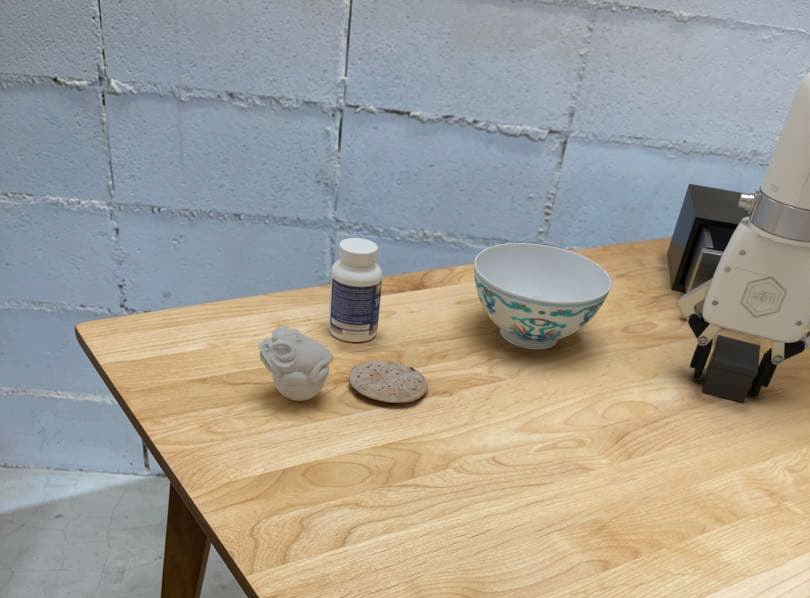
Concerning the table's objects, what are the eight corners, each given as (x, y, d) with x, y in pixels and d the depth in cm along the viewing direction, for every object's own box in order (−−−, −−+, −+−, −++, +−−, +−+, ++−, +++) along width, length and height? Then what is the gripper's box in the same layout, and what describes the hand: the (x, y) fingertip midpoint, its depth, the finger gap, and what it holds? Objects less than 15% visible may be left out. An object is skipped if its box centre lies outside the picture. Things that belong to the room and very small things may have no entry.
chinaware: (610, 330, 99) (628, 267, 94) (568, 383, 89) (586, 316, 83) (494, 293, 103) (505, 231, 98) (442, 340, 93) (451, 273, 88)
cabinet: (760, 306, 109) (790, 233, 103) (671, 289, 110) (695, 216, 104) (748, 267, 119) (775, 198, 113) (667, 252, 120) (689, 183, 113)
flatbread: (438, 381, 86) (439, 372, 85) (408, 415, 80) (409, 406, 80) (367, 358, 88) (368, 349, 87) (333, 390, 82) (334, 381, 82)
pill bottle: (382, 343, 91) (390, 256, 85) (333, 344, 90) (338, 256, 83) (371, 319, 95) (378, 234, 88) (324, 320, 93) (328, 234, 87)
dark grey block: (705, 366, 95) (718, 334, 92) (746, 377, 94) (760, 345, 91) (700, 392, 90) (713, 359, 87) (744, 404, 89) (758, 371, 87)
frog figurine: (256, 381, 83) (255, 315, 78) (327, 379, 84) (330, 315, 79) (261, 415, 78) (260, 348, 74) (336, 413, 80) (339, 347, 75)
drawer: (772, 347, 98) (800, 284, 93) (683, 331, 99) (706, 267, 94) (755, 289, 111) (778, 230, 106) (676, 274, 112) (696, 216, 106)
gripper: (698, 208, 79) (643, 377, 91) (890, 251, 75) (806, 420, 87) (705, 186, 84) (652, 347, 96) (884, 225, 81) (805, 387, 93)
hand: (726, 380), depth 92 cm, fingers open, 5 cm apart
